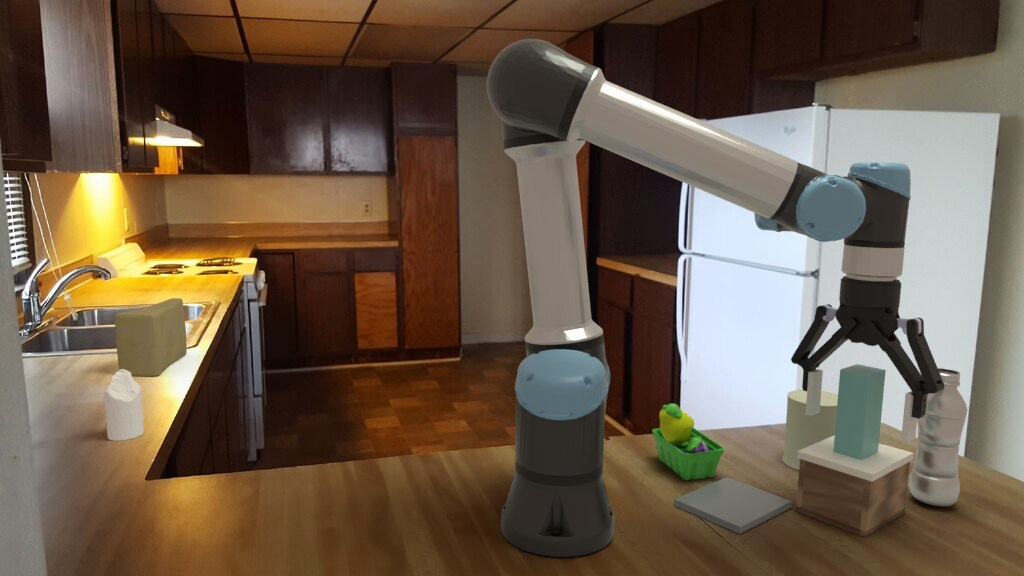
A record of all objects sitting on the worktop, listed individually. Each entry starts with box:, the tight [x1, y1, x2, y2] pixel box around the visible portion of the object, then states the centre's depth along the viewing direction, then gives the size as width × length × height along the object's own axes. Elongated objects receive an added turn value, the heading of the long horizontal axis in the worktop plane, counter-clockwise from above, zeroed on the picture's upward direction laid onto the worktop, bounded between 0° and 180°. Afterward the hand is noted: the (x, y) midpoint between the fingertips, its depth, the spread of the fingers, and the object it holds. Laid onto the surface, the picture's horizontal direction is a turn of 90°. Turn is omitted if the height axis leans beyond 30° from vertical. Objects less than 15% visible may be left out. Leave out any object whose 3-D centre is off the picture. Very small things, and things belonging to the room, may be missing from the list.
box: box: [795, 459, 911, 538], centre depth 107 cm, size 12×10×8 cm
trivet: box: [673, 476, 793, 535], centre depth 109 cm, size 13×11×1 cm
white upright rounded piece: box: [103, 369, 145, 442], centre depth 133 cm, size 6×12×6 cm
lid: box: [797, 363, 915, 482], centre depth 105 cm, size 13×11×14 cm
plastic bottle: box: [908, 367, 968, 508], centre depth 110 cm, size 6×7×20 cm
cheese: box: [114, 297, 188, 377], centre depth 181 cm, size 22×10×15 cm, turn 177°
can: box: [781, 389, 838, 471], centre depth 125 cm, size 9×9×12 cm
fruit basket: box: [651, 403, 725, 481], centre depth 122 cm, size 11×9×11 cm
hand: (858, 426), depth 106 cm, fingers open, 13 cm apart
